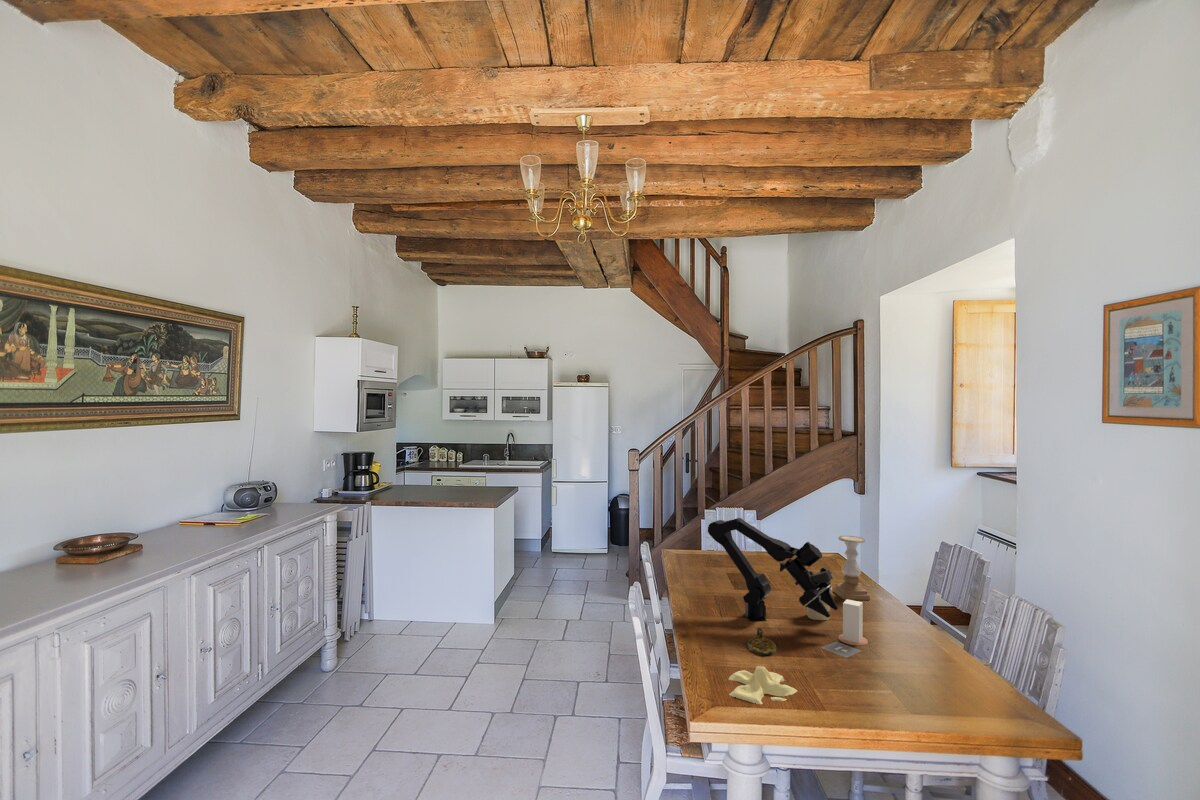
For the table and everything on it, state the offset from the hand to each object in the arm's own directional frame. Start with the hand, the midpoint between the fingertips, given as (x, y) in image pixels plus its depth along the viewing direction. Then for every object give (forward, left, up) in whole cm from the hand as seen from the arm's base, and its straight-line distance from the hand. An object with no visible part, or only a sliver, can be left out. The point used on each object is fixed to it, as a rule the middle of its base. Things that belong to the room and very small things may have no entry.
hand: (833, 613), depth 195 cm
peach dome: (+5, -4, -8) cm, 10 cm away
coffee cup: (+4, +18, -8) cm, 20 cm away
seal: (-28, -7, -8) cm, 30 cm away
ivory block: (+5, -4, -7) cm, 10 cm away
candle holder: (+30, +41, -8) cm, 51 cm away
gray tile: (-3, -11, -8) cm, 14 cm away
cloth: (-37, -33, -9) cm, 51 cm away
